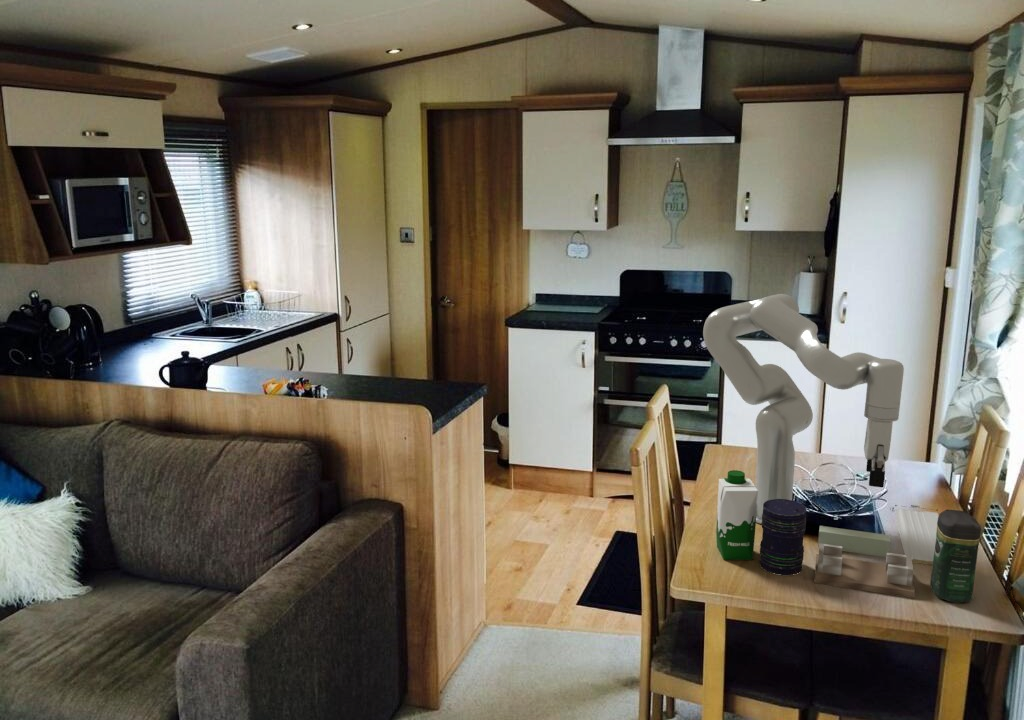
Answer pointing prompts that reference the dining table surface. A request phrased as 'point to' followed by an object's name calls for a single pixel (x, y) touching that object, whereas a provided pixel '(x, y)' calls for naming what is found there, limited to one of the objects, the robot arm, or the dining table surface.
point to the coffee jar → (955, 556)
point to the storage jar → (782, 536)
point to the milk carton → (736, 516)
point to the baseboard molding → (917, 534)
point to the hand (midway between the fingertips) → (874, 478)
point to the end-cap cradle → (865, 572)
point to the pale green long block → (855, 541)
